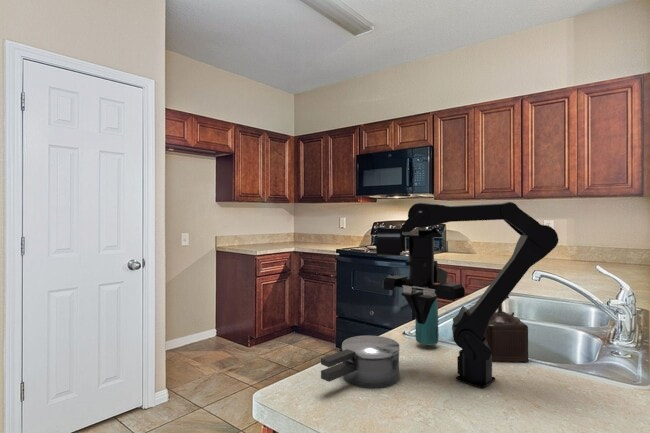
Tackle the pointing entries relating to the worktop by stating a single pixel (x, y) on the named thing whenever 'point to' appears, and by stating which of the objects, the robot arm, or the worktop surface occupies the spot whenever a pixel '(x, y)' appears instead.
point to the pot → (365, 372)
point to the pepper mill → (507, 338)
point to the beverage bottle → (428, 327)
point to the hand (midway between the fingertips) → (421, 323)
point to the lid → (363, 349)
